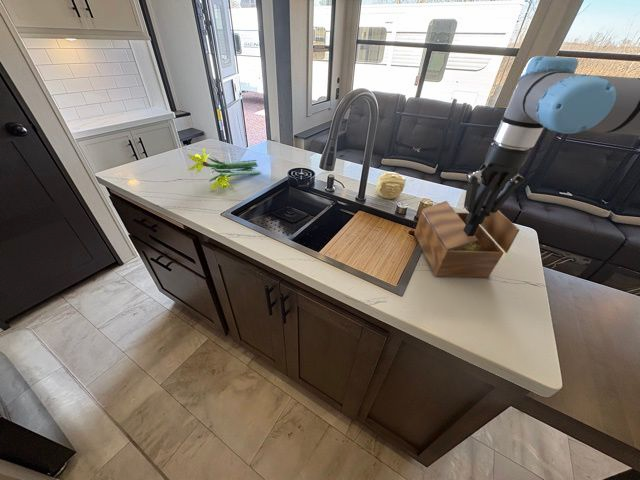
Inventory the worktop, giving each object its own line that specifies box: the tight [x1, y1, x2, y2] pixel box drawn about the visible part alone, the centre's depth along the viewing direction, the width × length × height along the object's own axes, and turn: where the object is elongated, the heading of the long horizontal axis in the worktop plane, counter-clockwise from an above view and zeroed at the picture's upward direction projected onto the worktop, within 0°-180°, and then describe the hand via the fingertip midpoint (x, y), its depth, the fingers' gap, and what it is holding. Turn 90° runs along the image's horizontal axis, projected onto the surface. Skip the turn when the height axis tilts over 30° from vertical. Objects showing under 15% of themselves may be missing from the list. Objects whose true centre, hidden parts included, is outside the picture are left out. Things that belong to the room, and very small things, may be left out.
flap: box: [422, 200, 478, 250], centre depth 76 cm, size 21×8×1 cm, turn 1°
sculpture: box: [375, 171, 406, 200], centre depth 111 cm, size 12×12×11 cm
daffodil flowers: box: [187, 145, 261, 192], centre depth 113 cm, size 17×15×35 cm
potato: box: [448, 242, 483, 251], centre depth 76 cm, size 8×13×8 cm, turn 81°
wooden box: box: [413, 209, 520, 278], centre depth 78 cm, size 21×17×17 cm
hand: (468, 233), depth 69 cm, fingers closed
